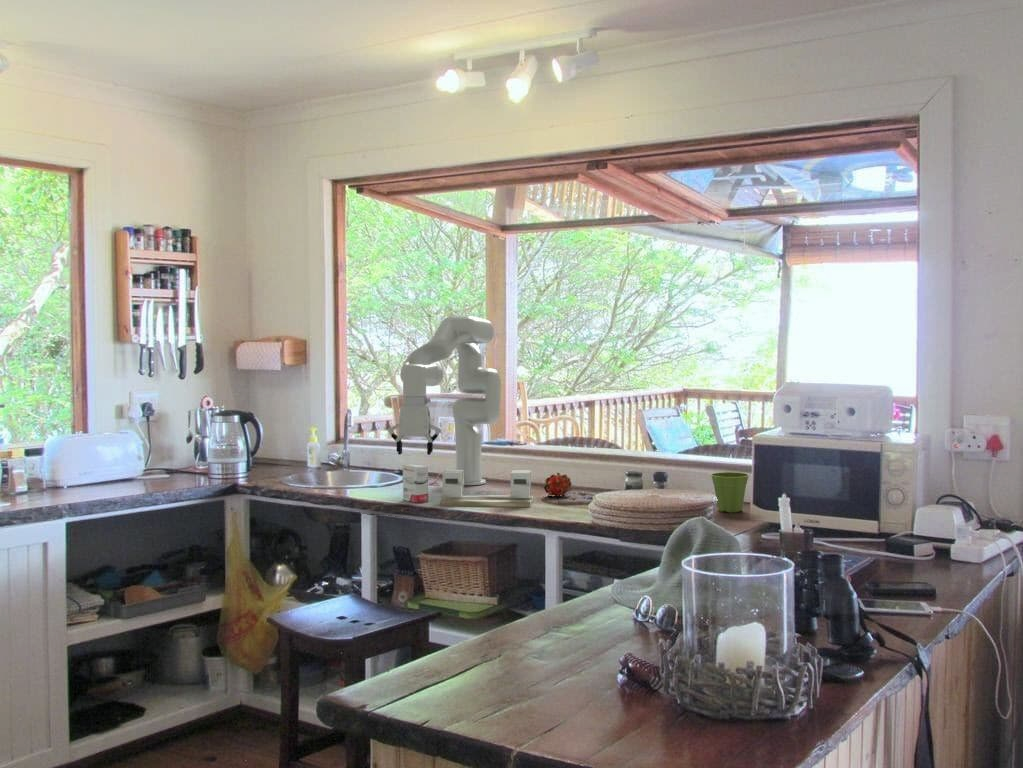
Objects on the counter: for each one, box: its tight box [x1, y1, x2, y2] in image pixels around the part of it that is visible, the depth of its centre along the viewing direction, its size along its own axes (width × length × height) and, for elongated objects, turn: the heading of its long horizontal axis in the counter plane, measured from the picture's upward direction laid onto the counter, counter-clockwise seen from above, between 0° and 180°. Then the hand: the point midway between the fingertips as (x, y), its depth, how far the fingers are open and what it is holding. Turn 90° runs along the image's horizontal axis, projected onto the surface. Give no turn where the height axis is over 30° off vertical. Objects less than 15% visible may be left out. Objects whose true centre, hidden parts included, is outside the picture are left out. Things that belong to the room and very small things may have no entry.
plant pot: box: [709, 471, 751, 513], centre depth 295 cm, size 12×12×11 cm
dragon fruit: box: [543, 472, 572, 497], centre depth 324 cm, size 8×8×12 cm
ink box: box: [402, 464, 429, 504], centre depth 317 cm, size 8×5×12 cm, turn 39°
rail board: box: [439, 469, 534, 508], centre depth 311 cm, size 12×29×10 cm, turn 85°
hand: (414, 454), depth 316 cm, fingers open, 9 cm apart
